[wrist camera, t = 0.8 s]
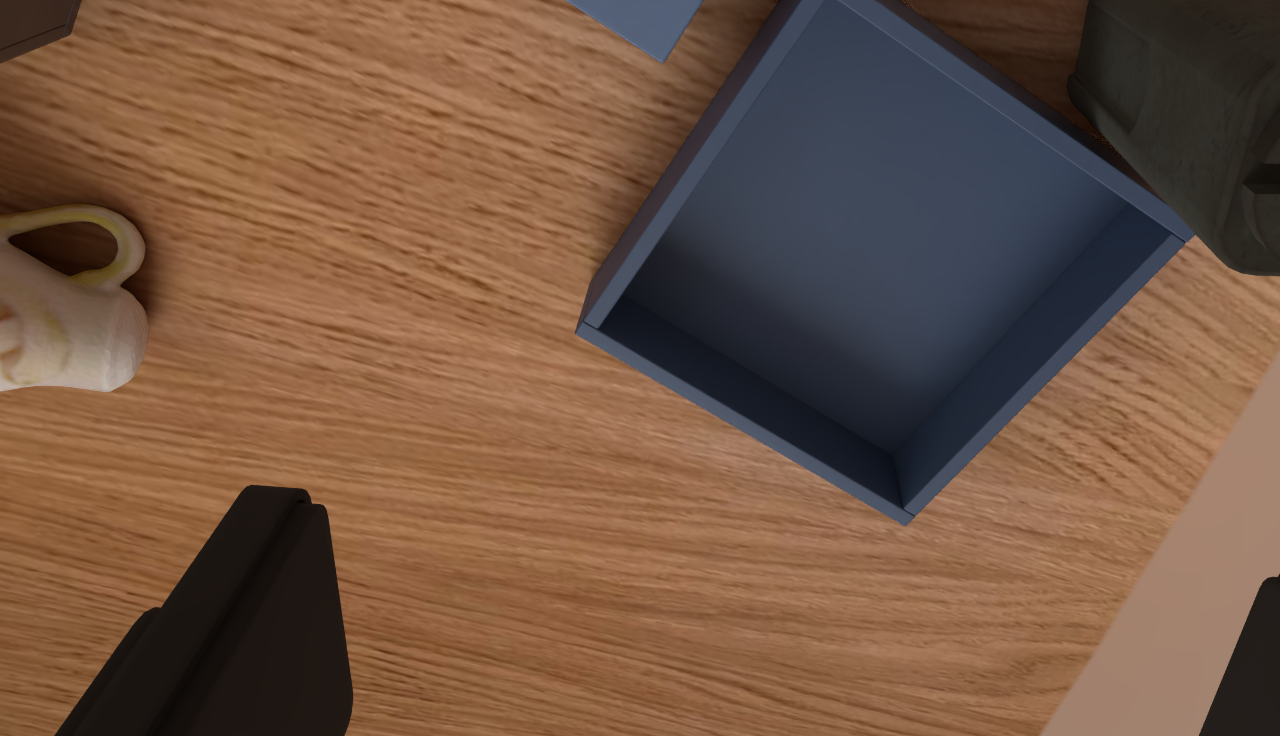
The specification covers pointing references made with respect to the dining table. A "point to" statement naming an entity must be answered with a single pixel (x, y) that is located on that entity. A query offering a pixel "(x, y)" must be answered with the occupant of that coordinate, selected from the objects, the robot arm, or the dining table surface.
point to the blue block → (644, 21)
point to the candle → (1193, 112)
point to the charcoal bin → (33, 24)
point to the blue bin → (875, 251)
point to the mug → (69, 309)
